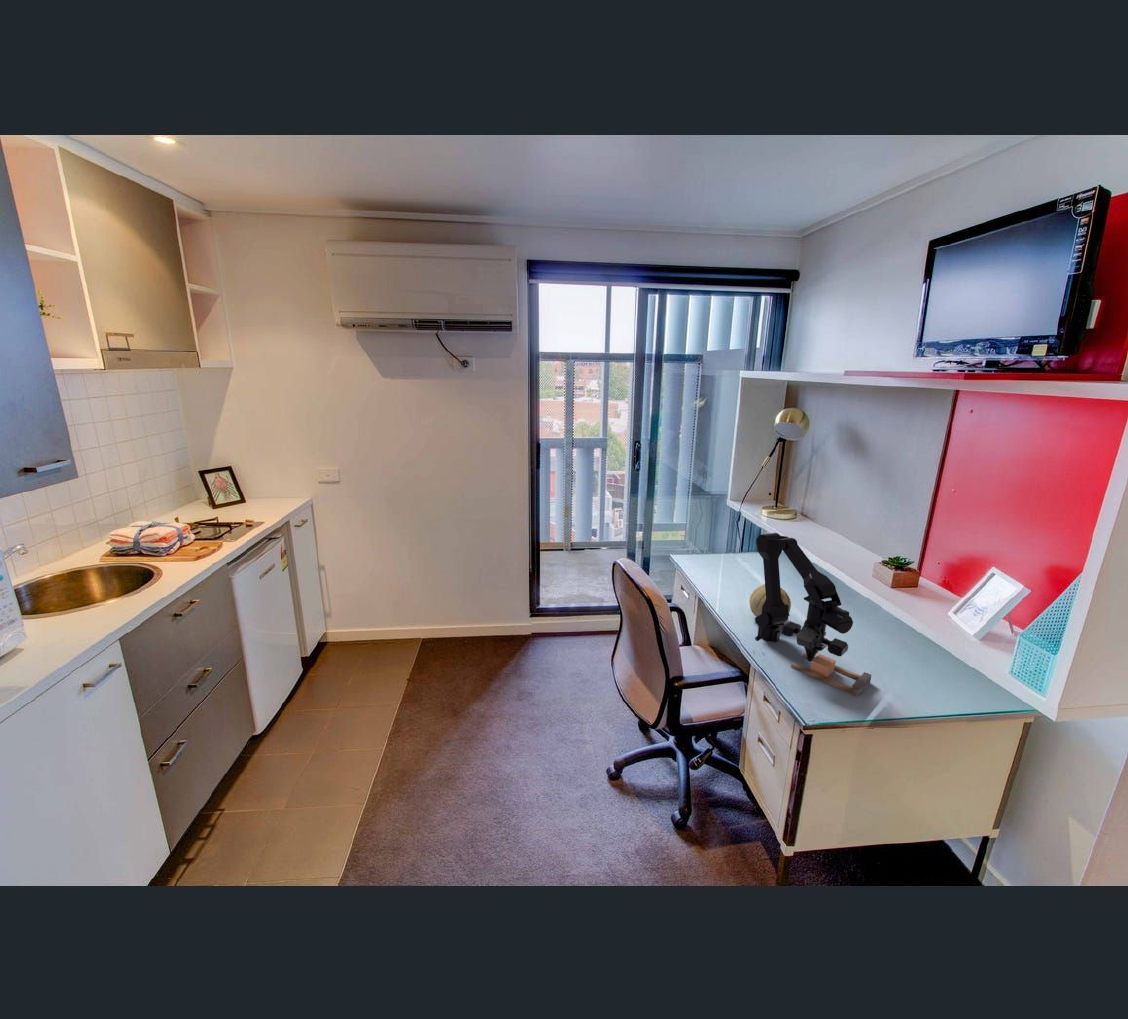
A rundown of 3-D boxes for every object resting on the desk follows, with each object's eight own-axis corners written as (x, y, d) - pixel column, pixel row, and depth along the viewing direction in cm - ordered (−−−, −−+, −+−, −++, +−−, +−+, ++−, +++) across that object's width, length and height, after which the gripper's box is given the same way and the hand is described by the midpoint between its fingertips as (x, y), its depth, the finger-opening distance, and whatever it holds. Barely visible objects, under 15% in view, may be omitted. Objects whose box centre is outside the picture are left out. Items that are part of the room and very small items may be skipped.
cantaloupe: (739, 616, 195) (743, 581, 191) (765, 608, 201) (770, 574, 197) (769, 633, 182) (774, 596, 178) (796, 624, 189) (802, 588, 185)
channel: (790, 669, 160) (792, 659, 159) (804, 658, 167) (805, 648, 166) (857, 699, 146) (859, 688, 145) (869, 686, 152) (871, 674, 151)
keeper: (809, 671, 158) (811, 660, 156) (817, 664, 161) (819, 653, 160) (826, 678, 154) (828, 667, 153) (833, 671, 158) (835, 660, 157)
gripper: (776, 615, 157) (770, 658, 162) (837, 638, 144) (829, 684, 148) (792, 604, 164) (786, 646, 169) (852, 626, 151) (844, 670, 155)
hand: (810, 661), depth 160 cm, fingers closed
